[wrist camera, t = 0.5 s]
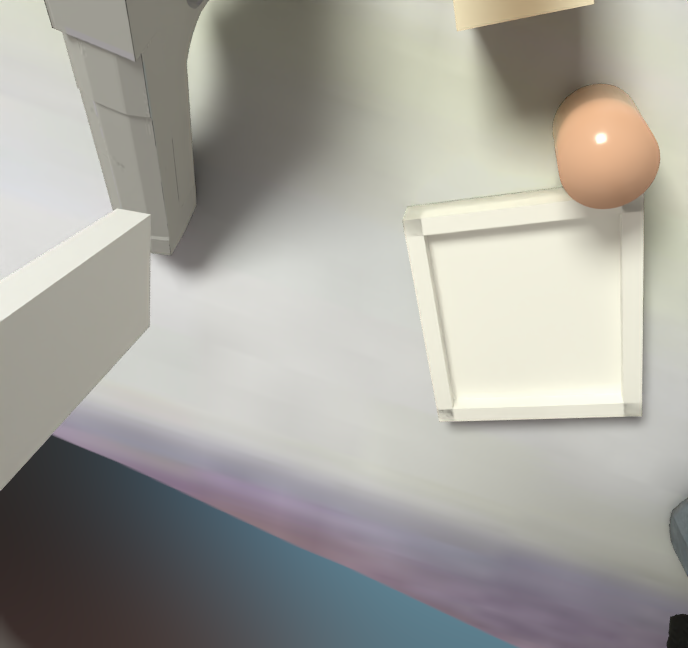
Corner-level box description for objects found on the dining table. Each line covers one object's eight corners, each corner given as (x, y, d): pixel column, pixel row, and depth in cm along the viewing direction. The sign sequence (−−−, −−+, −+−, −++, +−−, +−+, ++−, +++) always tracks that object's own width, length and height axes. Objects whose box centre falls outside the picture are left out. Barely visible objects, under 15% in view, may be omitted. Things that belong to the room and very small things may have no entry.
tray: (637, 177, 34) (643, 191, 32) (636, 395, 41) (641, 416, 39) (407, 206, 37) (402, 220, 36) (442, 402, 44) (439, 421, 42)
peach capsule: (637, 76, 31) (660, 109, 26) (637, 158, 33) (658, 202, 28) (550, 91, 32) (556, 125, 28) (554, 169, 34) (561, 214, 30)
